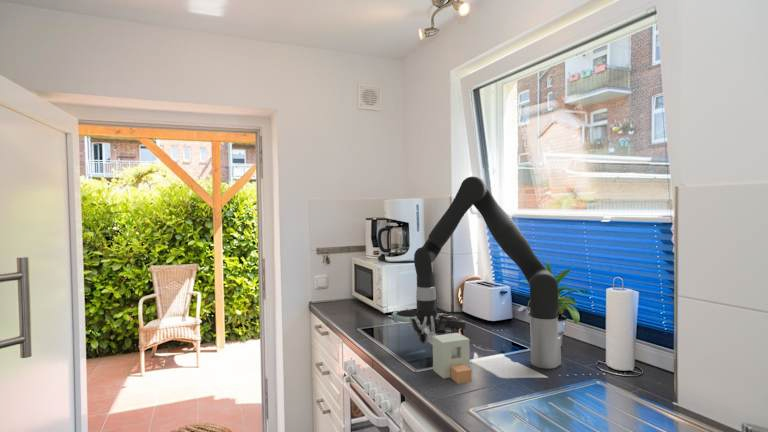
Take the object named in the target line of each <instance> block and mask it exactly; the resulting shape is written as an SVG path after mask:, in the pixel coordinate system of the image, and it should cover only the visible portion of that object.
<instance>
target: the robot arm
mask: <svg viewBox="0 0 768 432" xmlns="http://www.w3.org/2000/svg"><path fill="white" fill-rule="evenodd" d="M472 206H474V208H475V209H477V211H478V212H479V214H480V215H481V217H482V218H483V220H484V223H485V225H486V227H487V229H488V230H489V232H490V234H491V235H492V237H493V239H494V241H495V242H496V243H497V244H498V245H499V247H500V248H501V249H502V251H503V253H505V254H506V256H507V257H509V258H510V259H511V261H513V263H515V264H516V266H518V268H519V269H520V271H521V272H522V274H523V276H524V277H525V279H526V280H527V283H528V285H529V318H530V319H529V320H530V321H529V324H530V326H529V327H530V329H529V330H530V333H529V334H530V364H531V365H532V366H534V367H535V368H539V369H547V370H548V369H550V370H551V369H555V368H558V367H559V366H561V364H562V362H561V360H562V359H561V357H562V356H561V355H562V354H561V353H562V352H561V349H562V348H561V347H562V346H561V338H560V337H559V325H558V324H559V323H558V322H559V321H558V319H559V318H558V313H559V312H558V311H559V284H558V281H557V279H556V277H555V275H553V273H552V272H550V271H549V270H548V268H547V267H546V266H545V265H544V264H543V263H542V261H541V260H540V259H538V257H537V256H536V254H535V252H534V251H533V249H532V248H531V246H530V243H529V242H528V239H526V237H525V235H524V234H523V232H522V231H521V230H520V228H519V227H518V226H517V225H516V223H515V222H514V220H513V219H512V218H511V217H510V215H509V214H507V212H506V211H505V210H504V209H503V208H502V207H501V206H500V205H499V203H498V202H497V200H496V199H495V198H494V196H493V194H492V192H491V191H490V189H489V187H488V186H487V184H486V182H485V181H484V179H482V178H480V177H478V176H469V177H466V178H465V179H464V180H462V182H461V184H460V186H459V189H458V191H457V192H456V195H455V196H454V198H453V200H452V202H451V203H450V205H449V206H448V208H447V210H446V211H445V212H444V214H443V215H442V216H441V218H440V219H439V220H438V221H437V223H436V224H435V226H433V228H432V230H431V231H430V233H429V235H428V238H427V239H426V241H425V243H423V245H422V246H421V247H419V248H416V250H415V252H414V254H413V261H414V262H413V264H414V268H415V273H416V293H415V295H416V296H415V298H416V310H417V313H416V316H415V317H413V318H412V317H411V318H410V321H411V323H410V324H411V325H412V327H413V330H414V331H415V333H416V332H418V333H419V335H420V336H419V342H421V344H425V342H426V340H425V334H424V331H425V327H426V328H427V326H428V329H429V330H431V331H432V332H434V333H436V332H438V330H439V328H440V325H441V322H442V320H443V316H442V315H443V314H440V313H438V312H437V295H436V294H437V292H436V291H437V290H436V278H435V272H434V271H433V264H432V263H433V262H434V261H435V260H436V259H437V257H438V255H440V252H441V250H442V249H443V247H444V246H445V244H446V243H447V242H448V240H449V239H450V238H451V236H452V235H453V234H454V232H455V231H456V229H457V228H458V226H459V224H460V222H461V220H462V219H463V217H464V216H465V214H466V213H467V211H468V210H469V209H470V208H471V207H472ZM435 318H436V322H435V325H434V320H435ZM417 319H418V320H419V321H420V322H417ZM418 326H419V328H418Z"/></svg>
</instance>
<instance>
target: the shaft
mask: <svg viewBox="0 0 768 432" xmlns="http://www.w3.org/2000/svg"><path fill="white" fill-rule="evenodd" d="M418 328H419V325H418ZM415 334H416V335H417V336H418V337H420V335H419V333H418V332H416V331H415ZM424 334H425V342H427V343H429V344H430V345H432V346H433V340H432V336H437V335H438V334H437V333H436V332H432V331H431V330H430V329H429V327H428V328H427V326H426V327H425V331H424ZM455 356H458V347H455V348H451V357H455Z"/></svg>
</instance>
